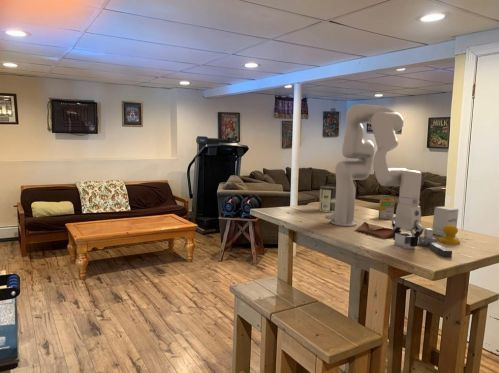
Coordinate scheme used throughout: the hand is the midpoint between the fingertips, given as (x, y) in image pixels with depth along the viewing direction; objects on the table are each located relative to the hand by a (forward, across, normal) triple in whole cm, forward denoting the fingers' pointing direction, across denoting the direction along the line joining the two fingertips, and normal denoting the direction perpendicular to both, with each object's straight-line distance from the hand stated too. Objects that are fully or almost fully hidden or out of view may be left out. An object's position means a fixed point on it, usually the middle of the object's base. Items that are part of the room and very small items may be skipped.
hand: (404, 242), depth 157 cm
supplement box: (+2, +12, -33) cm, 35 cm away
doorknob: (+2, +2, -25) cm, 25 cm away
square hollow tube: (+2, 0, 0) cm, 2 cm away
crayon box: (+2, +48, -29) cm, 56 cm away
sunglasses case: (+2, +20, -1) cm, 20 cm away
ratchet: (+2, -6, -9) cm, 11 cm away
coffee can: (+2, +72, -7) cm, 72 cm away
